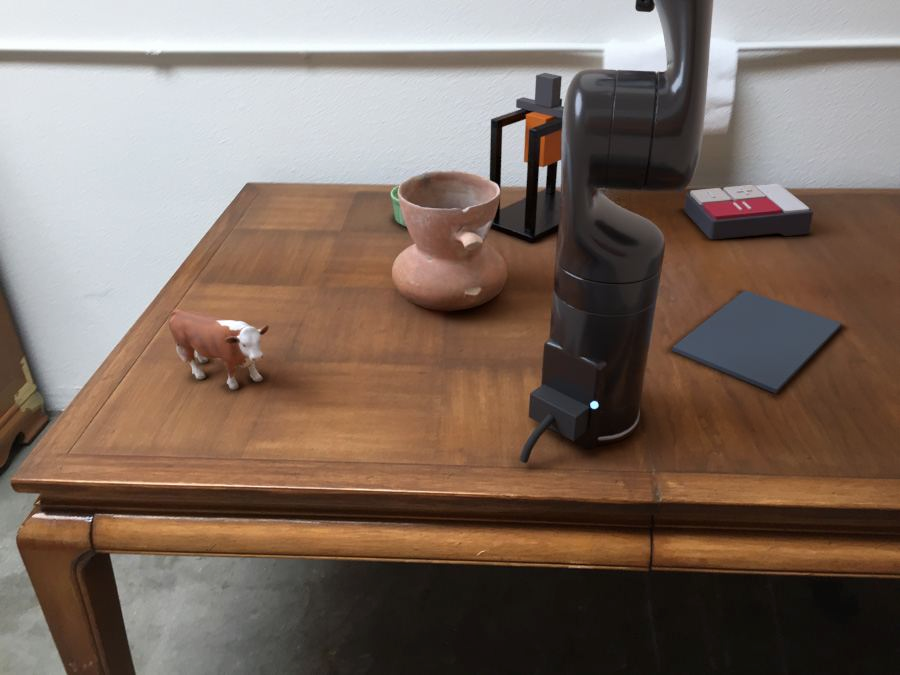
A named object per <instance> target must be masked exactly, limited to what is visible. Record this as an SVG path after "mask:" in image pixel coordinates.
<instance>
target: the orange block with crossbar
mask: <svg viewBox="0 0 900 675" xmlns="http://www.w3.org/2000/svg"><path fill="white" fill-rule="evenodd" d="M562 77H563V76H562V75H558V74H553V73H547V72H542V73H539V74H536V75H535V89H534V99H532V98H529V97H520V98H517V99H516V102H515V107H516V108H517V109H519V110H520V109H525V110H529V111H533V112H532V113H529V114H526V119H525V126H524V127H525V130H524V146H523V147H524V149H523V150H524V151H523V152H524V153H523V162H524V163H527V164H528V143H529V129H531V128H533V127H536V126H539V125H542V124H545V123H547V122H550V121H553V120H556V119H558V118H562V117H563V109H564V105H562V106H559V105H560V98H561V92H562ZM561 138H562V130H559V131H556V132H554V133H551V134H548V135H546V136H543V137H541V142H540V160H539V168H546V167H547V165H550V164H552V163H555V162H557V161H558V162H559V161H561Z"/></svg>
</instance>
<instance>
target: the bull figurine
mask: <svg viewBox="0 0 900 675" xmlns="http://www.w3.org/2000/svg"><path fill="white" fill-rule="evenodd" d="M168 327H169V331H170V333H171V335H172V337H173V340H174V344H175V349H176V353H177V355H178V356H179V357H180V359H181V360H182V361H183V363H189V365H190V367H191V373H192V375H194V376H195V378H196V380H204V379H206V377H207V375H206V373H205V372H204V371H203V370H202V369H201V367H200V366H199V365H198V363H197V362H196V359H195V358H197V359H198V361H199V363H200V364H206V363H207V362H208V361H209V360H214V361H216V360H218V361H222V362H223V364H224V366H225V369H226V372H227V376H228V378H227V381H226V384H227V385H228V387H229V389H230V390H234V391H235V390H237V389H239V386H240V385H239V383H238V381H237V380H236V377H235V375H236V367H237V366H238V367H240V368H246V367H247V368H248V370H249V377H250V378H252V381H253V382H254V383H258V382H261V381H263V379H264V378H263V376H262V374H261V375H260V373H259V372H258V370H257V369H256V366H255V362H258V361H261V360H263V359H264V356H265V355H264V353H263V351H262V346H261V336H263V335H265V334H266V333H267V332H268V331H269V328H270V325H268V324H265V325H263V326H261V327H260V328H259V329H257V328H256V327H254V326H252V325H249V324H248V323H247V322H245V321H242V320H235V319H234V320H233V319H224V318H219V317H216V316H211V315H209V314H206V313H203V312H198V311H193V310H189V309H187V310H186V309H179V308H177V309H174V310H173V311H171V312H170V317H169V320H168Z"/></svg>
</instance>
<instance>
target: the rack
mask: <svg viewBox="0 0 900 675" xmlns="http://www.w3.org/2000/svg"><path fill="white" fill-rule="evenodd" d="M559 106H563V98H561V97H560V105H559ZM532 112H533V111H529V110H525V109H520V108H519V109H517V110H514V111H511V112H508V113H505V114H503V115H499V116H496V117H493V118H491V119H490V138H489V139H490V143H489V144H490V145H489V148H490V149H489V180H491V181H492V182H494V183H496V184H497V185H498V186H499V188H500V191H502V190H501V189H502V188H501V186H502V185H501V184H502V157H503V156H502V155H503V154H502V151H503V128H504V127H507V126H510V125H513V124H516V123H519V122H521V121H526V114H529V113H532ZM559 130H562V118H558V119H556V120H553V121H550V122H547V123H545V124H542V125H539V126H536V127H533V128H531V129H529V143H528V163H527V168H526V183H525V184H526V186H525V187H526V188H525V198H522V199H520V200H518V201H515V202H513V203H510V204H509V205H507V206H504V207H502V208H501V198H500V199H499V204H498V208H497V211H496V214H495V217H494V220H493V222H492V225H491V227H490V230H491V229H492V230H494V231H497V232H499V233H501V234H504V235H506V236H510V237H513V238H516V239H519V240H520V241H524V242H526V243H529V244H533V243H536V242H538V241H540V240H542V239H543V238H545V237H547V236H549V235H551V234H553V233H555V232H558V227H559V215H560V199H561V190H560V191H559V190H557V189H556V188H557V178H558V177H557V176H558V165H559V164H558V163H559V161H557V162H555V163H552V164H550V165H547V166H546V178H545V188H544V189H542V190H540V191H539V175H540V174H539V173H540V166H539V160H540V142H541V137H543V136H546V135H548V134H551V133H554V132H556V131H559Z"/></svg>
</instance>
